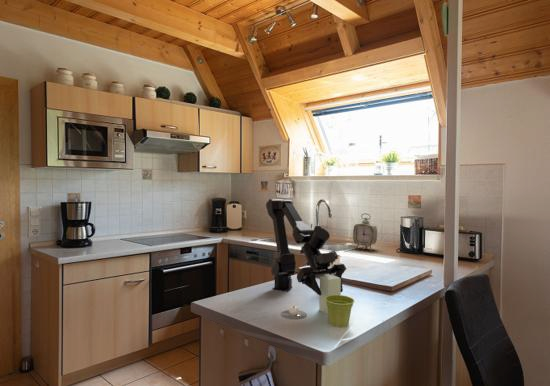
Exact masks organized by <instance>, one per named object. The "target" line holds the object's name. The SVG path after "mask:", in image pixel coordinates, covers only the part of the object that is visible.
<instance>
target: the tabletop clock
mask: <svg viewBox="0 0 550 386" xmlns="http://www.w3.org/2000/svg"><path fill="white" fill-rule="evenodd" d="M364 215H368V216H369V218H368V217H363V216H364ZM360 217H361V219H362V222H361V223H356V224H354V226H353V233H352V236H353V238H352V239H353V243H354V244H356V246H355V247H354V248H355V250H357V249H358V247H359V246H365V247H364V248H365V250H367V249H368V246H369V251H371V252H372V251H373V248H372V245H375V244H376V243H377V241H378V240H377V239H378V227H377V226H376V225H375V224H373V223H370V221H369V220H370V219H371V218H372V216H371V215H370V214H369V213H362V214H361V215H360Z"/></svg>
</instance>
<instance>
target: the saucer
mask: <svg viewBox="0 0 550 386" xmlns="http://www.w3.org/2000/svg"><path fill="white" fill-rule="evenodd" d="M280 316H281V317H283V318H284V319H288V320H301V319H305V318H306V317H308V315H307V313H306V312H305V311H303V310H299V309H298V315H297V316H291V315H289V309H286V310H283V311H281V313H280Z"/></svg>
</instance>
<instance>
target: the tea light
mask: <svg viewBox="0 0 550 386" xmlns="http://www.w3.org/2000/svg"><path fill="white" fill-rule="evenodd" d="M288 310H289V315H291V316H297V315H298V310H299V307H298V306H295V305H293V306H290V307H289V309H288Z"/></svg>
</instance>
